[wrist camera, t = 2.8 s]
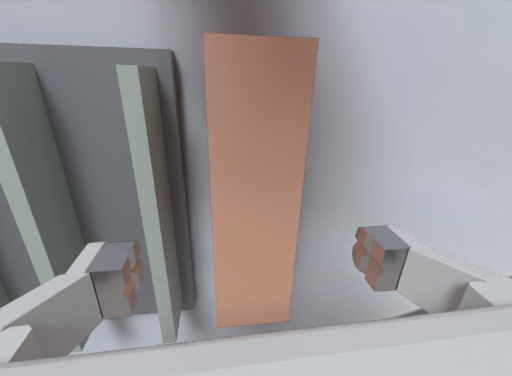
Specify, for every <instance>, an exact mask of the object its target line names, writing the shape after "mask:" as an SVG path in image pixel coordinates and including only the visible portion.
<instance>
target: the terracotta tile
mask: <svg viewBox="0 0 512 376" xmlns="http://www.w3.org/2000/svg"><path fill="white" fill-rule="evenodd" d="M318 40H319V38H303V37H282V36H260V35H239V34H217V33H203V44H204V65H205V86H206V107H207V128H208V149H209V170H210V191H211V212H212V233H213V254H214V275H215V296H216V317H217V328H223V327H234V326H245V325H255V324H266V323H277V322H288V321H289V312H290V303H291V293H292V284H293V275H294V265H295V256H296V246H297V237H298V228H299V218H300V209H301V200H302V190H303V181H304V172H305V162H306V153H307V143H308V134H309V125H310V115H311V106H312V97H313V87H314V78H315V69H316V59H317V50H318Z"/></svg>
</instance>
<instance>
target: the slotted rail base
mask: <svg viewBox="0 0 512 376" xmlns="http://www.w3.org/2000/svg"><path fill="white" fill-rule="evenodd" d="M134 240H137V241H138V242H139V244H140V249H141V252H140V254H139V258H140V259H141V260H142V261H143V266H144V278H143V284H142V287H141V289H140V290H139V291H138V292H136V294H137V302H136V305H135V307H134V310H133V313H132V314H141V313H153V312H158V316H159V322H160V327H161V333H162V339H163V343H171V342H176V340H177V334H178V328H179V321H180V315H181V310H189V309H194V306H195V291H194V280H193V269H192V258H191V247H190V236H189V224H188V213H187V202H186V191H185V180H184V169H183V157H182V146H181V135H180V124H179V113H178V102H177V90H176V79H175V68H174V57H173V51H172V50H170V49H145V48H119V47H93V46H67V45H40V44H14V43H0V308H2V307H3V306H5V305H7V304H9V303H10V302H12V301H14V300H16V299H18V298H19V297H21V296H23V295H25V294H26V293H28V292H30V291H32V290H33V289H35V288H37V287H39V286H41V285H42V284H44V283H46V282H48V281H49V280H51V279H53V278H55V277H56V276H58V275H64V274H65V273H66V272H67V271H68V269H69V268H70V267H71V265H72V264H73V263H74V261H75V260H76V259H77V257H78V256H79V255H80V253H81V252H82V251H83V249H84V248H85V247H86V245H87V244H89V243H91V242H109V241H134ZM90 334H91V333H90ZM90 334H89V335H88V336H87V337H86V338H85V339H84V340H83V341H82V342H81V343H80V344H79V345H78V346H77V347H76V348H75V349H74V350H73V351H72V352H81V351H82V350H83V348H84V346H85V344H86V342H87V340H88V338H89V336H90Z"/></svg>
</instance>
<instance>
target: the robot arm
mask: <svg viewBox="0 0 512 376" xmlns="http://www.w3.org/2000/svg"><path fill="white" fill-rule="evenodd" d="M355 237H356V239H357V240H358V242H357V243H356V244H355V245H354V246H353V251H352V256H353V261H354V264H355V266H356V267H357V269H358V270H359V271H361V272H363V273H364V274H365V280H366V281H367V282H368V284H369V285H370V286H371V288H372V289H373V290H374V292H377V291H391V290H396V291H397V292H398V293H400V294H401V295H403V296H404V297H406V298H407V299H409V300H410V301H412V302H413V303H415V304H416V305H418V306H419V307H421V308H422V309H424V310H425V311H427V312H428V313H430V314H425V315H417V316H408V317H399V318H390V319H381V320H372V321H364V322H355V323H346V324H337V325H329V326H320V327H312V328H303V329H295V330H286V331H278V332H269V333H260V334H252V335H243V336H235V337H226V338H218V339H209V340H200V341H192V342H183V343H174V344H166V345H157V346H149V347H140V348H131V349H123V350H114V351H105V352H97V353H88V354H79V355H71V356H67V355H68V354H70V353H71V352H72V351H73V350H74V349H75V348H76V347H77V346H78V345H79V344H80V343H81V342H82V341H83V340H84V339H85V338H86V337H87V336H88V335H89V334H90V333H91V332H92V331H93V330H94V329H95V328H96V327H97V326H98V325H99V324H100V323H101V322H102V321H103V319H109V318H117V317H125V316H132V313H133V310H134V307H135V305H136V302H137V294H136V292H138V291H139V290H140V289H141V287H142V284H143V278H144V266H143V261H142V260H141V259H140V258H139V254H140V252H141V249H140V244H139V242H138V241H137V240H134V241H109V242H91V243H89V244H87V245H86V247H85V248H84V249H83V251H82V252H81V253H80V255H79V256H78V257H77V259H76V260H75V261H74V263H73V264H72V265H71V267H70V268H69V269H68V271H67V272H66V273H65V274H64V275H58V276H56V277H55V278H53V279H51V280H49V281H48V282H46V283H44V284H42V285H41V286H39V287H37V288H35V289H33V290H32V291H30V292H28V293H26V294H25V295H23V296H21V297H19V298H18V299H16V300H14V301H12V302H10V303H9V304H7V305H5V306H3V307H2V308H0V376H512V279H511V278H509V277H507V276H504V275H502V274H499V273H496V272H494V271H491V270H489V269H486V268H483V267H481V266H478V265H475V264H473V263H470V262H468V261H465V260H462V259H460V258H457V257H454V256H452V255H449V254H446V253H444V252H441V251H439V250H436V249H433V248H431V247H425V246H424V245H422V244H421V243H420V242H419V241H418V240H416V239H415V238H414V237H413V236H411V235H410V234H409V233H408V232H406V231H405V230H404V229H403V228H401V227H400V226H399V225H396V224H392V225H383V226H371V227H359V228H358V230H357V231H356V236H355Z"/></svg>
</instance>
